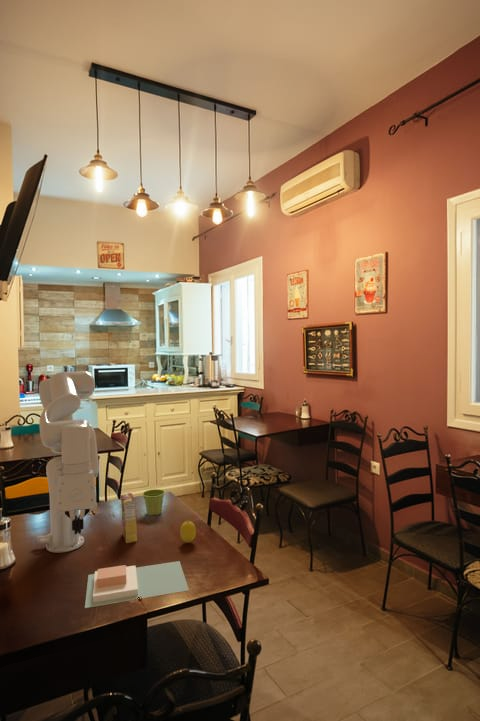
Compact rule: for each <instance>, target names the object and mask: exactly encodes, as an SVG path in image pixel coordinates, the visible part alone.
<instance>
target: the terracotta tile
mask: <svg viewBox="0 0 480 721" xmlns="http://www.w3.org/2000/svg"><path fill="white" fill-rule="evenodd" d="M126 567H127V565H126V564H124V565H117V566H112V567H111V566H110V567H103V568H97V571H98V573H97V588H101V587H107V586H114V585H120V584H126V583H127V581H126Z"/></svg>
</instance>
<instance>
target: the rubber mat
mask: <svg viewBox="0 0 480 721" xmlns="http://www.w3.org/2000/svg"><path fill="white" fill-rule="evenodd" d="M182 567H183V566H182V565H181V561H180V560H178V561H177V560H176V561H171V562H164V563H163V562H162V563H159V564H151V565H144V566H137V567H136V574H137V584H138V595H135V596H129V597H123V598H117V599H111V600H105V601H99V602H93V589H94V576H95V573H93V574H92V573H91V574H88V575H87V576H88V577H87V583H86V584H87V585H86V592H85V593H86V594H85V602H84V604H85V605H84V609H89V608H94V607H95V608H96V607H99V606H106V605H112V604H117V603H118V604H119V603H123V602H129V601H136V600H141V597H142V599H146V598H147V599H148V598H153V597H159V596H164V595H169V594H170V595H171V594H176V593H180V592H181V593H182V592H188V591H189V590H190V589H189V586H188V582H187V580H186V577H185V573H184V570H183V568H182ZM140 596H141V597H140ZM138 597H140V599H139V598H138ZM137 598H138V599H137ZM135 599H136V600H135Z"/></svg>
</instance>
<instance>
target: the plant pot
mask: <svg viewBox="0 0 480 721" xmlns="http://www.w3.org/2000/svg"><path fill="white" fill-rule="evenodd" d="M165 494H166V491H165V490H164V489H157V488H156V489H155V488H154V489H148V490H145V491H143V492H142V496H143V500H144V504H145V510H146V514H147V516H158V515H160V514H161V513H162V512H163V502H164V501H163V500H164V496H165Z"/></svg>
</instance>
